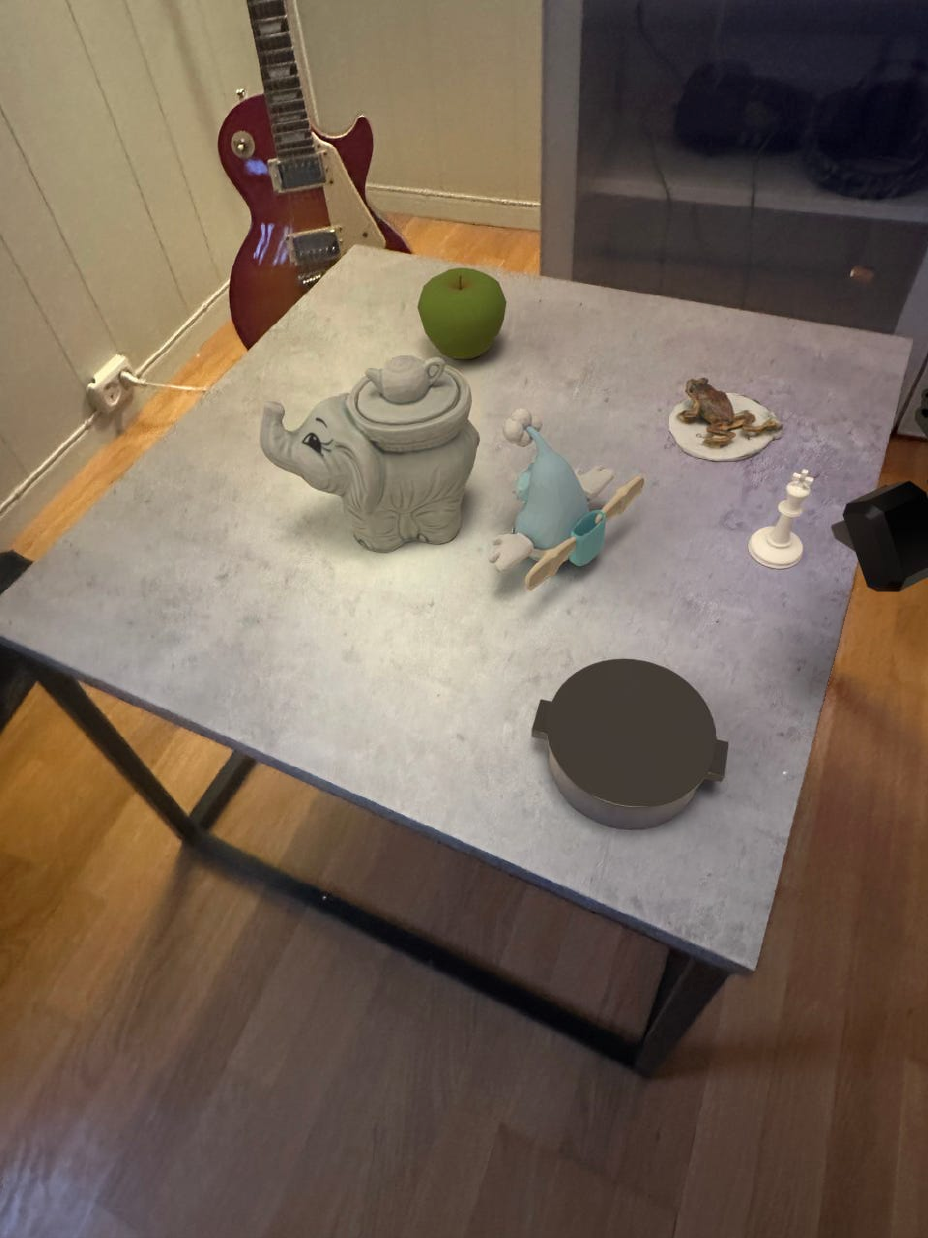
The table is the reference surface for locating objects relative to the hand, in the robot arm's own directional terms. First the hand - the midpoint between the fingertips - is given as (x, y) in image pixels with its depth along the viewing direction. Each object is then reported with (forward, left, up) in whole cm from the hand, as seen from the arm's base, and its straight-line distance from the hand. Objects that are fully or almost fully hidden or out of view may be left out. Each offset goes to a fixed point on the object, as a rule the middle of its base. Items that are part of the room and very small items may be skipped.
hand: (882, 507), depth 58 cm
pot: (+15, +19, -13) cm, 28 cm away
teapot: (+43, -1, -13) cm, 45 cm away
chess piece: (+5, -6, -13) cm, 16 cm away
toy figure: (+26, -1, -13) cm, 29 cm away
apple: (+44, -31, -13) cm, 56 cm away
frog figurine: (+12, -23, -13) cm, 29 cm away
